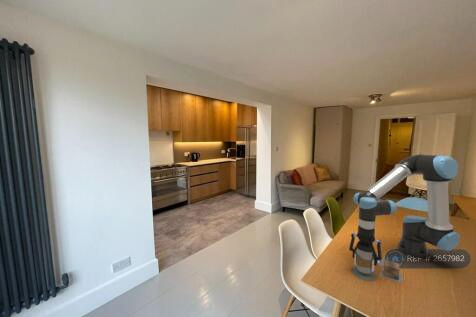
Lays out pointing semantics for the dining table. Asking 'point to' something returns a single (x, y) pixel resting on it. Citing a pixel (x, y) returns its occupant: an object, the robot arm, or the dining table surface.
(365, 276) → the coaster
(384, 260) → the tile
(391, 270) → the brown cube
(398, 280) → the code tile
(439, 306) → the dining table surface
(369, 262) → the coffee cup
